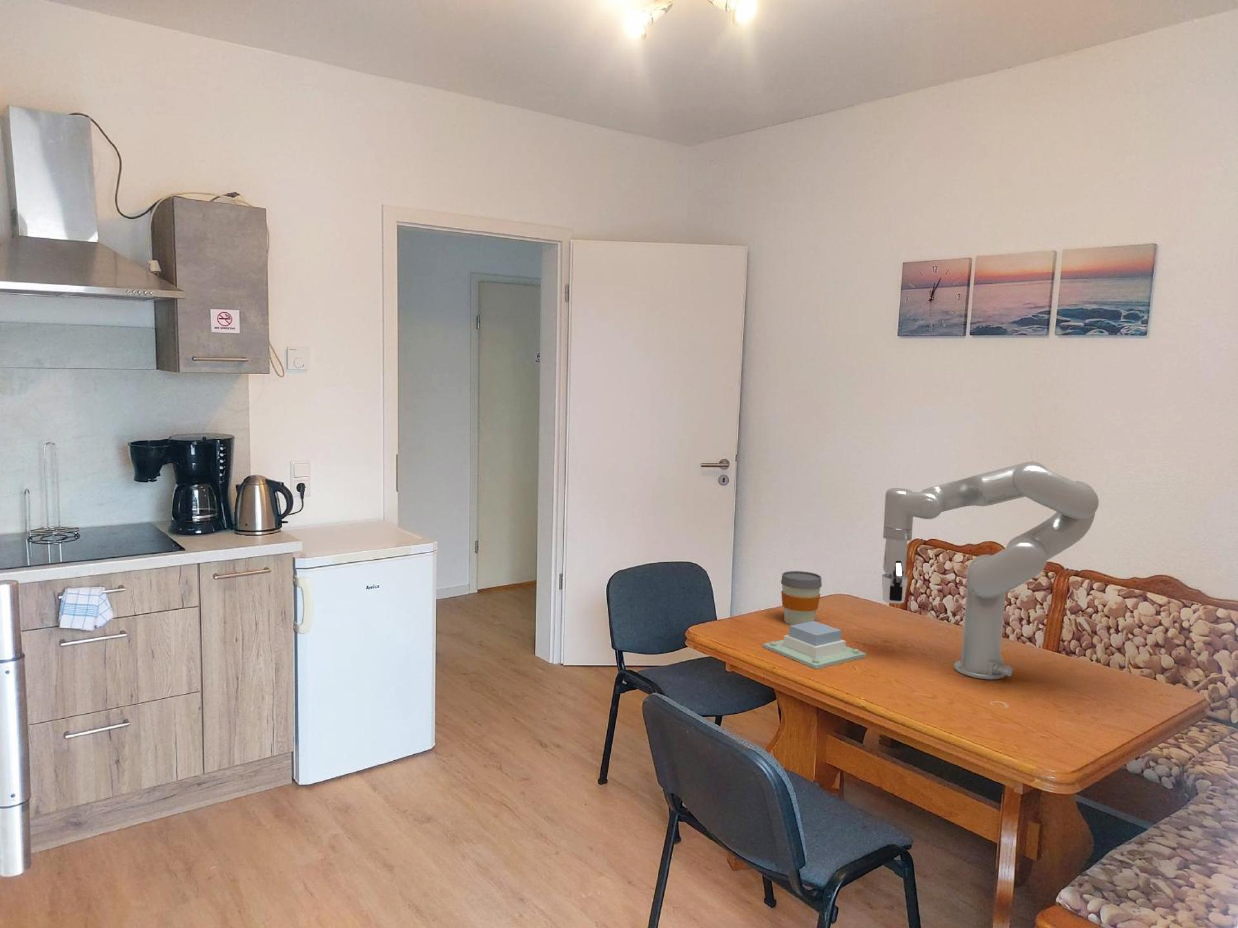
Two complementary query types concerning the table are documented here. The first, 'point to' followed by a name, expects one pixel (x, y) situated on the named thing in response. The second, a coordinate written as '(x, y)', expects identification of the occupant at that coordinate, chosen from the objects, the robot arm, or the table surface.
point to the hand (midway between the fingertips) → (893, 596)
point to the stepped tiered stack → (815, 645)
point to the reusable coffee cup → (800, 596)
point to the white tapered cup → (886, 588)
